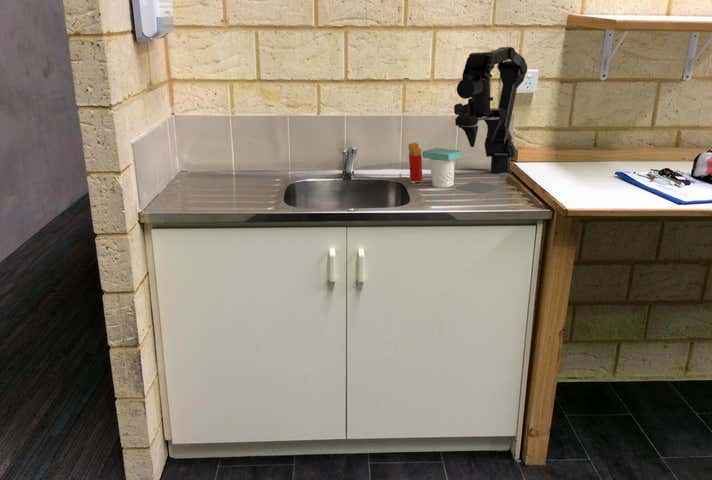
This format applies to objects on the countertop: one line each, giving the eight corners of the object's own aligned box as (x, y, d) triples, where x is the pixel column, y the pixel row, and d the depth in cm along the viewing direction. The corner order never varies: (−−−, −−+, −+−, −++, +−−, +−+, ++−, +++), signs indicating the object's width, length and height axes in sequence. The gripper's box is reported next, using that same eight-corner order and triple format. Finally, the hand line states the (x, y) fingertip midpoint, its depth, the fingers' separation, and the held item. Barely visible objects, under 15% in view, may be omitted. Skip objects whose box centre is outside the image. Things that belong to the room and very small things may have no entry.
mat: (473, 184, 198) (473, 181, 198) (503, 189, 189) (503, 186, 189) (453, 191, 192) (453, 188, 192) (483, 196, 183) (483, 193, 183)
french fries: (422, 183, 205) (420, 145, 200) (410, 184, 205) (408, 146, 201) (422, 177, 213) (420, 140, 209) (410, 178, 214) (408, 141, 209)
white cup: (454, 190, 193) (453, 159, 190) (430, 191, 195) (428, 160, 192) (455, 184, 200) (455, 154, 197) (432, 184, 202) (430, 155, 199)
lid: (436, 153, 200) (435, 147, 200) (462, 157, 192) (462, 150, 192) (422, 157, 196) (422, 151, 196) (448, 161, 188) (448, 154, 188)
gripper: (479, 90, 200) (479, 137, 205) (441, 97, 189) (442, 147, 194) (507, 90, 192) (507, 140, 197) (469, 98, 181) (470, 150, 186)
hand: (481, 144), depth 194 cm, fingers open, 9 cm apart
